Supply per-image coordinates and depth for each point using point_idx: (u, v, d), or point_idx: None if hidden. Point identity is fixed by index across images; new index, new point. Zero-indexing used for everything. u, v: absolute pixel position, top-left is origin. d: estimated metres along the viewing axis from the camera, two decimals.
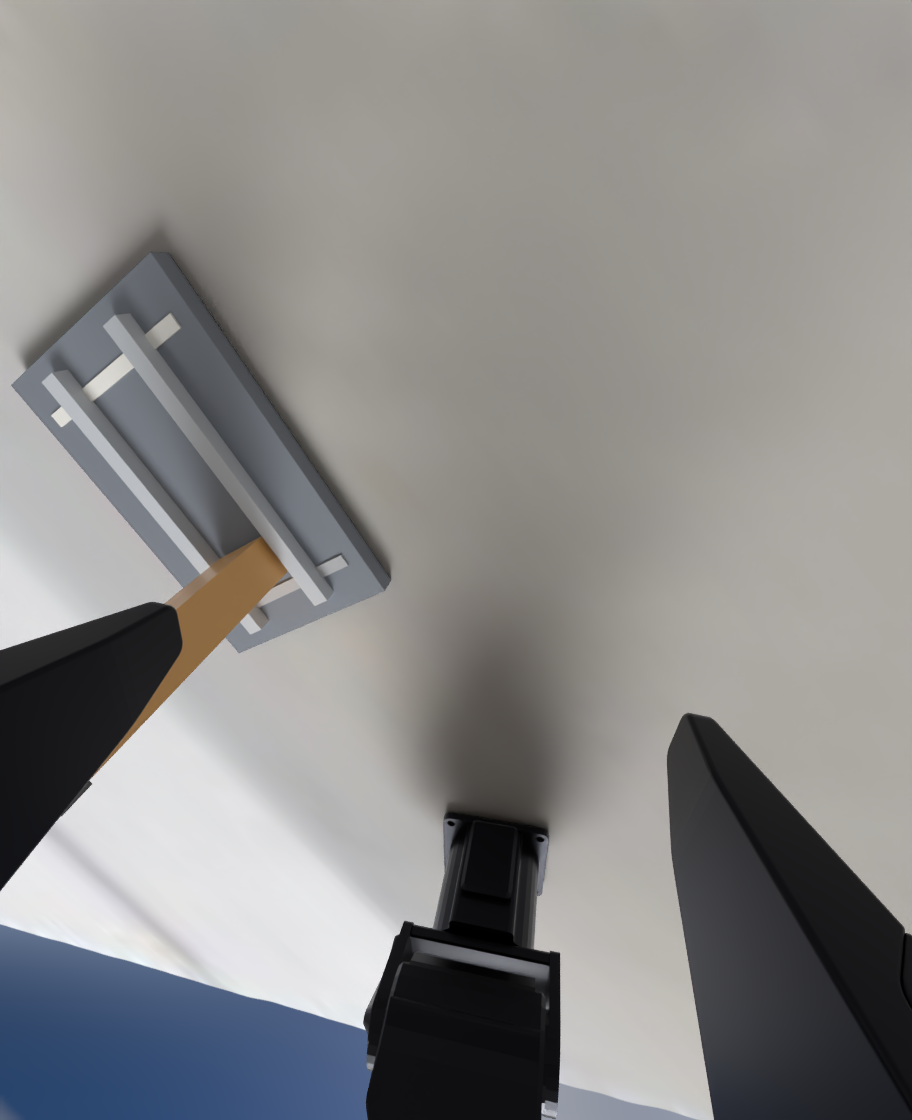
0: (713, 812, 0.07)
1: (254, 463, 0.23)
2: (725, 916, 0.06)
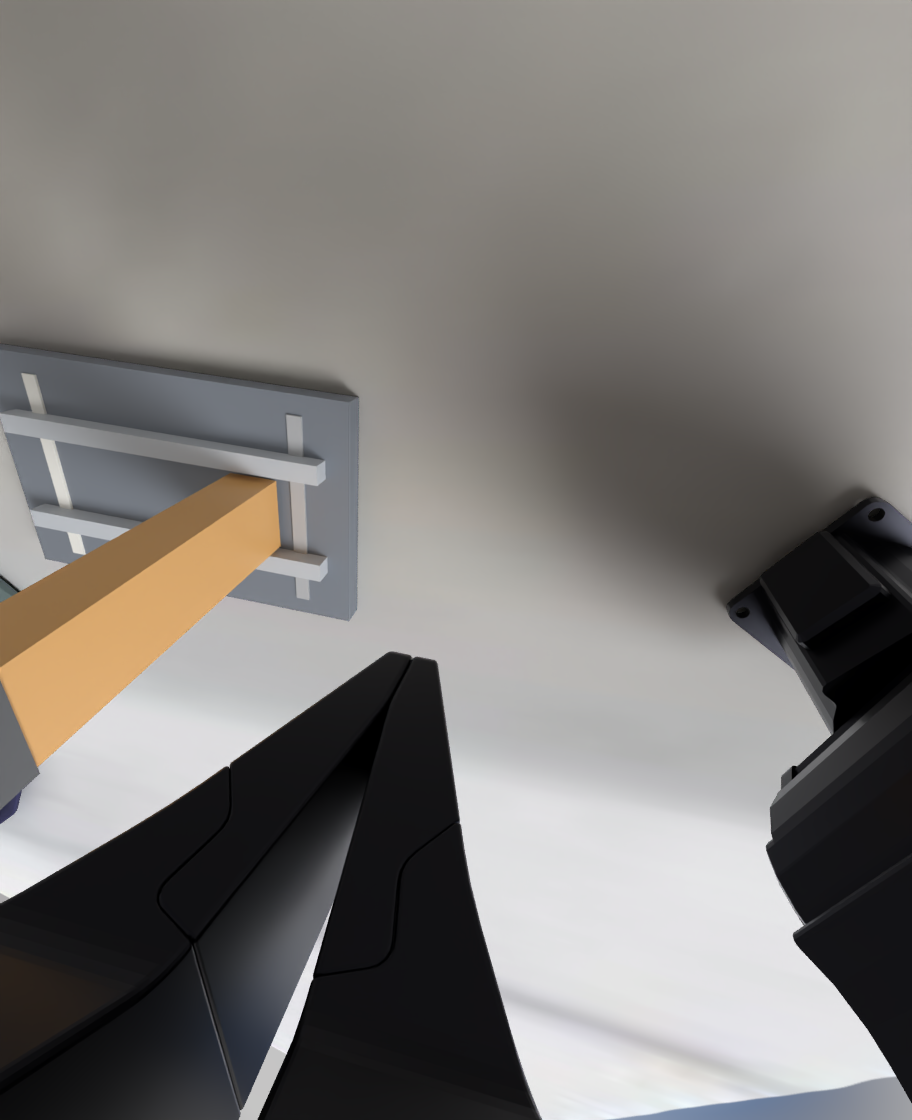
0: None
1: (165, 419, 0.21)
2: None
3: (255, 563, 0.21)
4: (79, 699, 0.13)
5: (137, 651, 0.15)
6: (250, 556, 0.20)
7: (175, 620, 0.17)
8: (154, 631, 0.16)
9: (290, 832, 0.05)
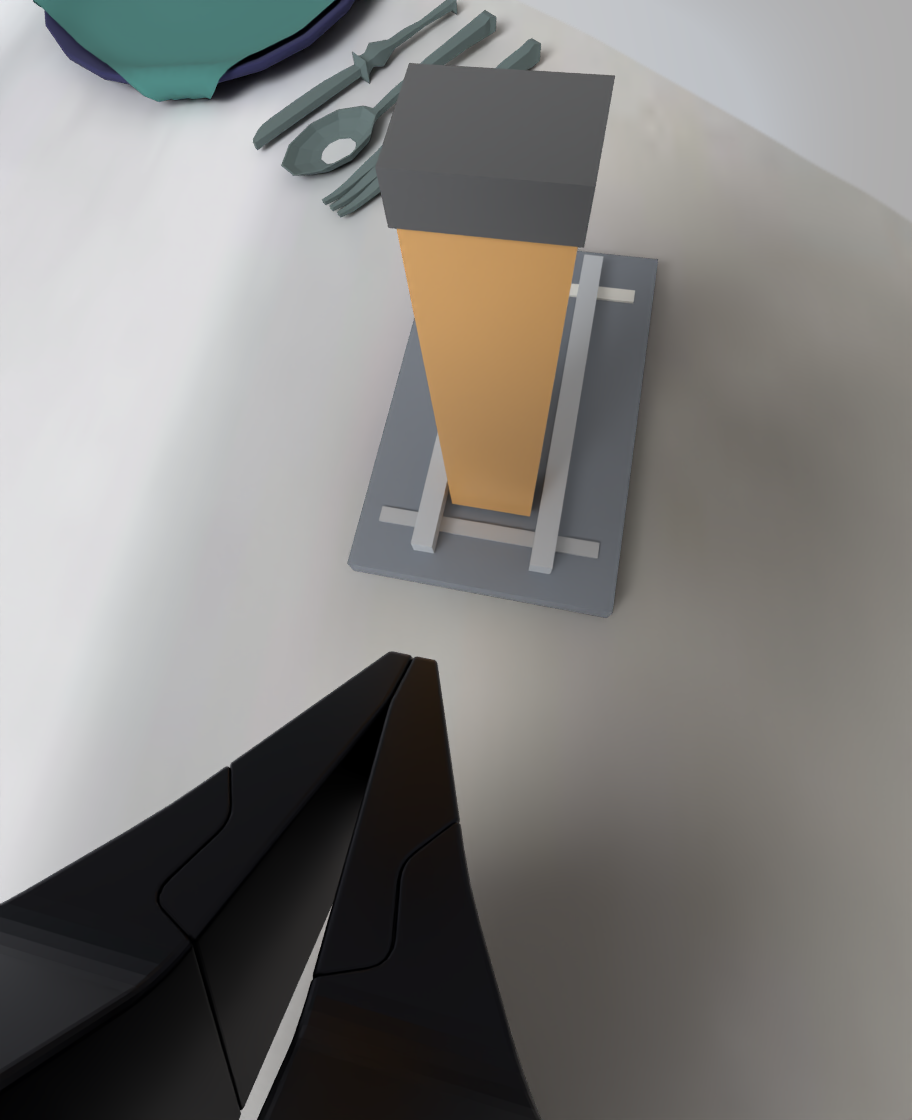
0: None
1: (592, 415, 0.21)
2: None
3: (454, 482, 0.18)
4: (450, 299, 0.10)
5: (455, 366, 0.12)
6: (467, 480, 0.18)
7: (459, 407, 0.14)
8: (465, 387, 0.13)
9: (290, 832, 0.05)
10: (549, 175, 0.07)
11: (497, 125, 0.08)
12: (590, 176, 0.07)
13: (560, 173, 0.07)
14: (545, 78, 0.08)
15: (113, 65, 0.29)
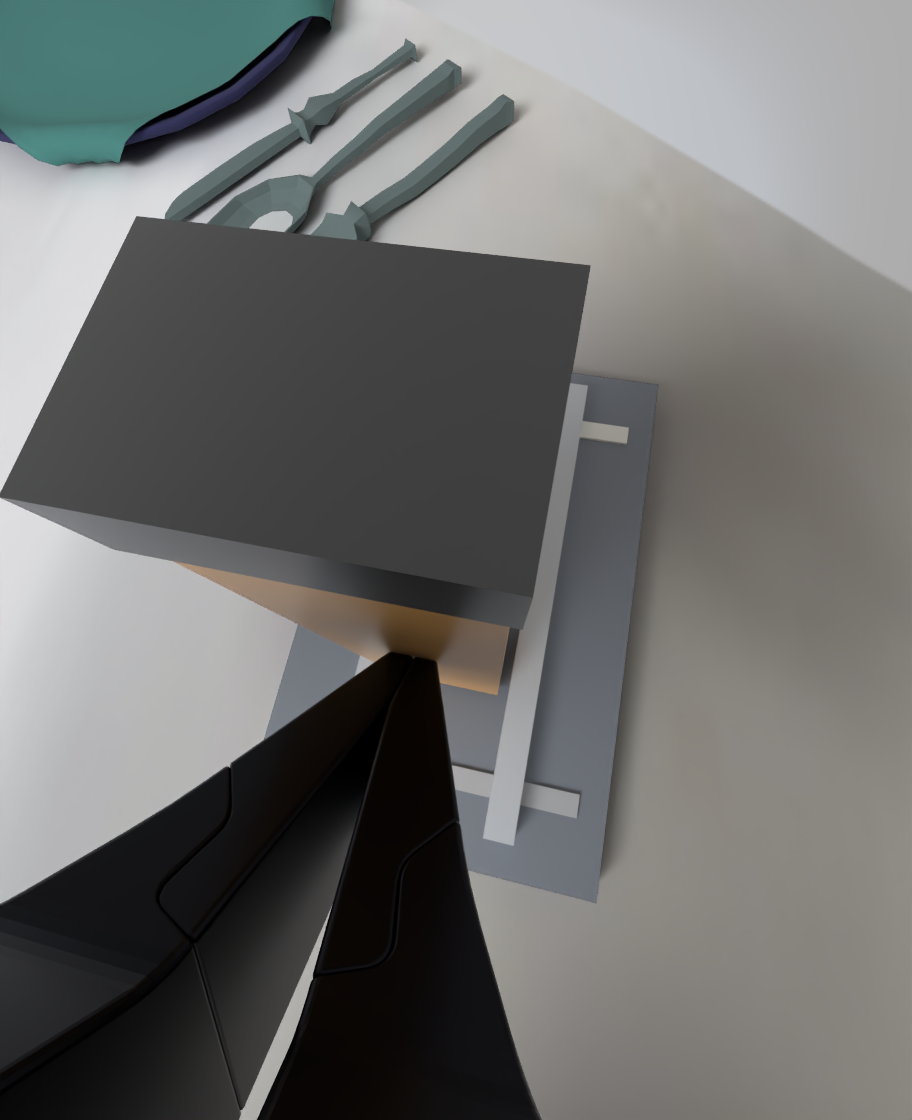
0: None
1: (571, 602, 0.16)
2: None
3: None
4: (295, 601, 0.05)
5: (345, 632, 0.07)
6: None
7: (369, 648, 0.09)
8: (369, 643, 0.08)
9: (290, 832, 0.05)
10: (417, 546, 0.03)
11: (304, 390, 0.03)
12: (521, 558, 0.03)
13: (445, 543, 0.03)
14: (428, 266, 0.03)
15: (1, 123, 0.24)
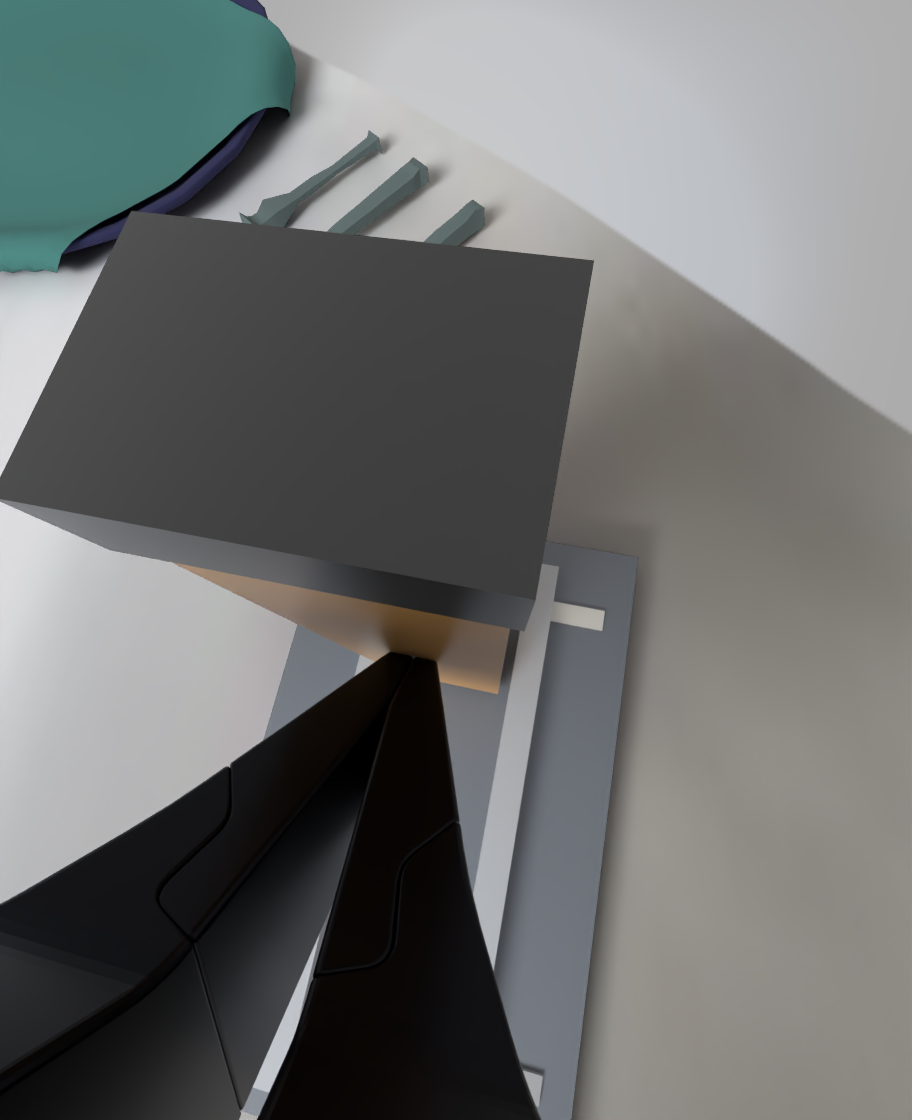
0: None
1: (538, 826, 0.14)
2: None
3: None
4: (295, 602, 0.05)
5: (345, 632, 0.07)
6: None
7: (369, 648, 0.09)
8: (368, 643, 0.08)
9: (290, 832, 0.05)
10: (418, 548, 0.03)
11: (302, 388, 0.03)
12: (524, 559, 0.03)
13: (446, 545, 0.03)
14: (429, 262, 0.03)
15: None
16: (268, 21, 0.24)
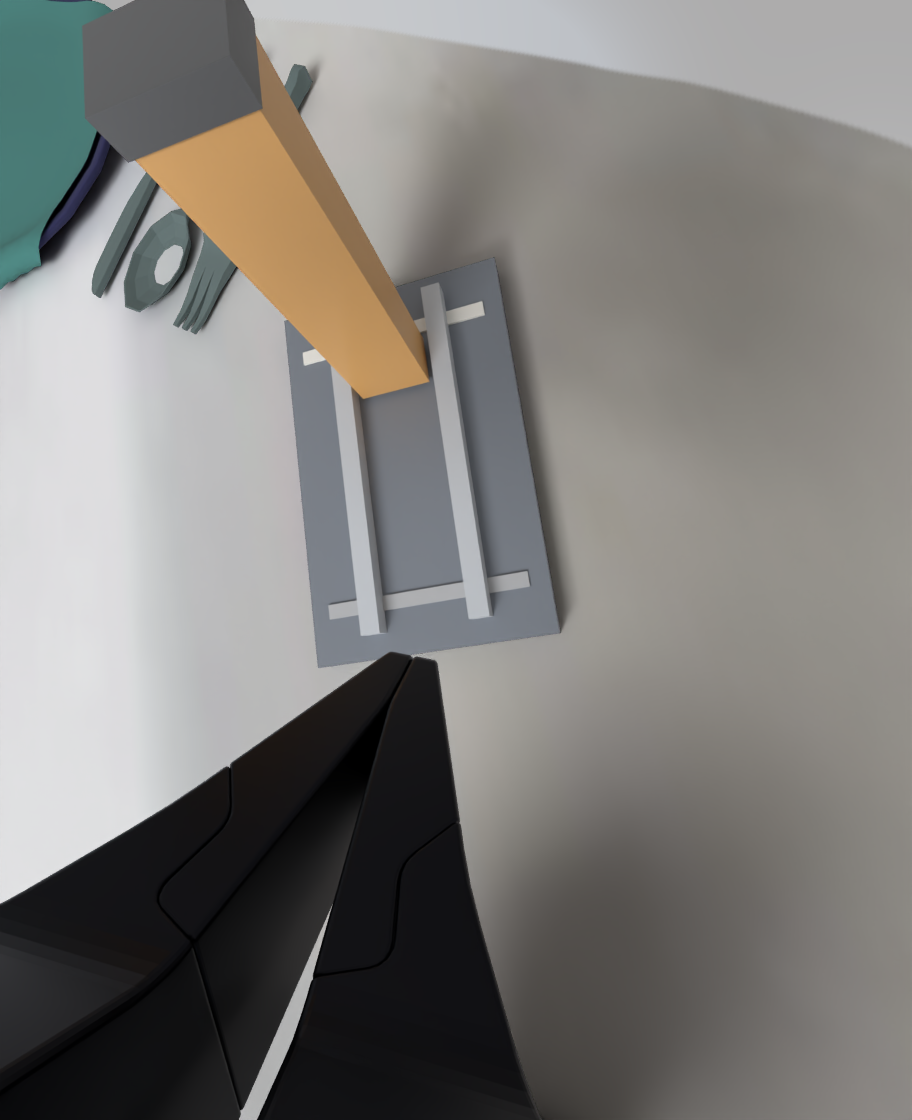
0: None
1: (482, 446, 0.21)
2: None
3: (348, 375, 0.21)
4: (213, 201, 0.12)
5: (263, 261, 0.14)
6: (355, 368, 0.20)
7: (294, 298, 0.16)
8: (284, 277, 0.15)
9: (290, 832, 0.05)
10: (198, 63, 0.10)
11: (153, 42, 0.10)
12: (225, 49, 0.10)
13: (205, 57, 0.10)
14: None
15: None
16: (94, 2, 0.29)
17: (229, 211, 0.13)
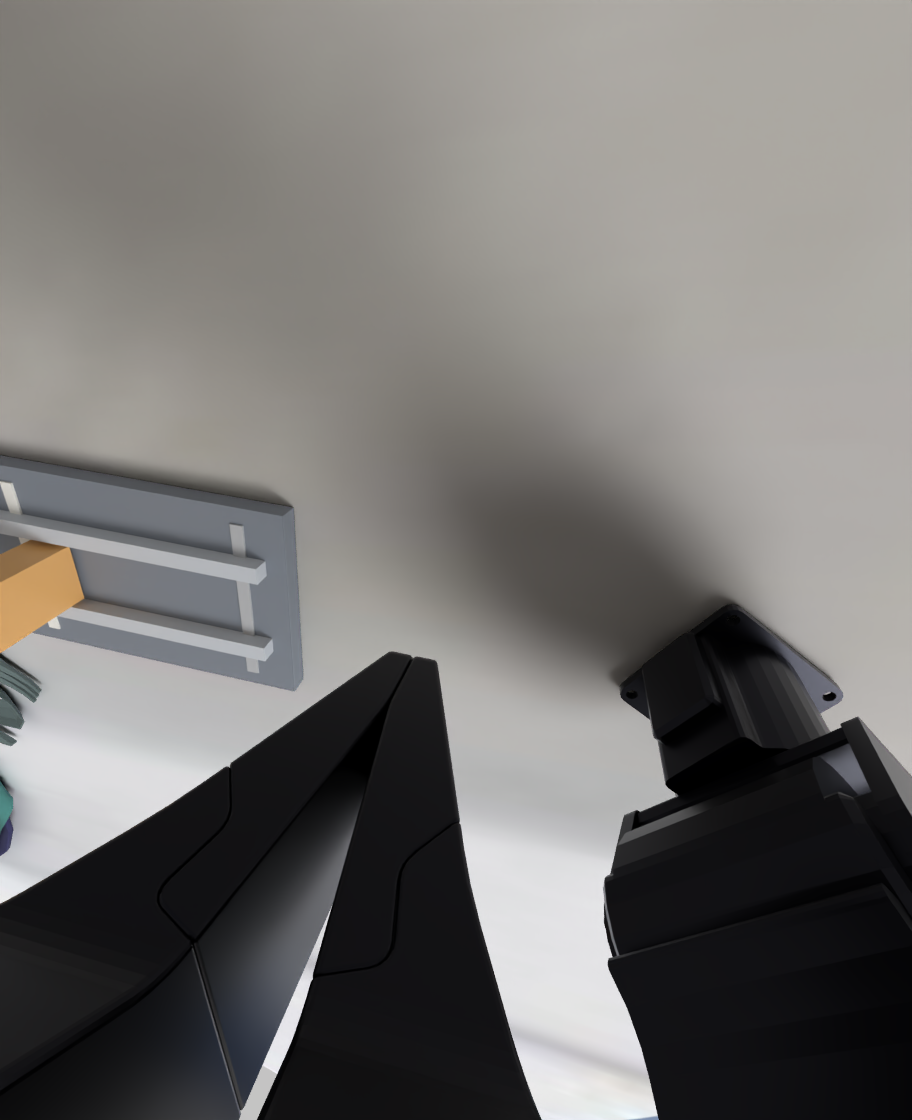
0: None
1: (126, 522, 0.24)
2: None
3: (48, 616, 0.25)
4: None
5: None
6: (40, 612, 0.24)
7: None
8: None
9: (290, 832, 0.05)
10: None
11: None
12: None
13: None
14: None
15: (0, 827, 0.40)
16: None
17: None
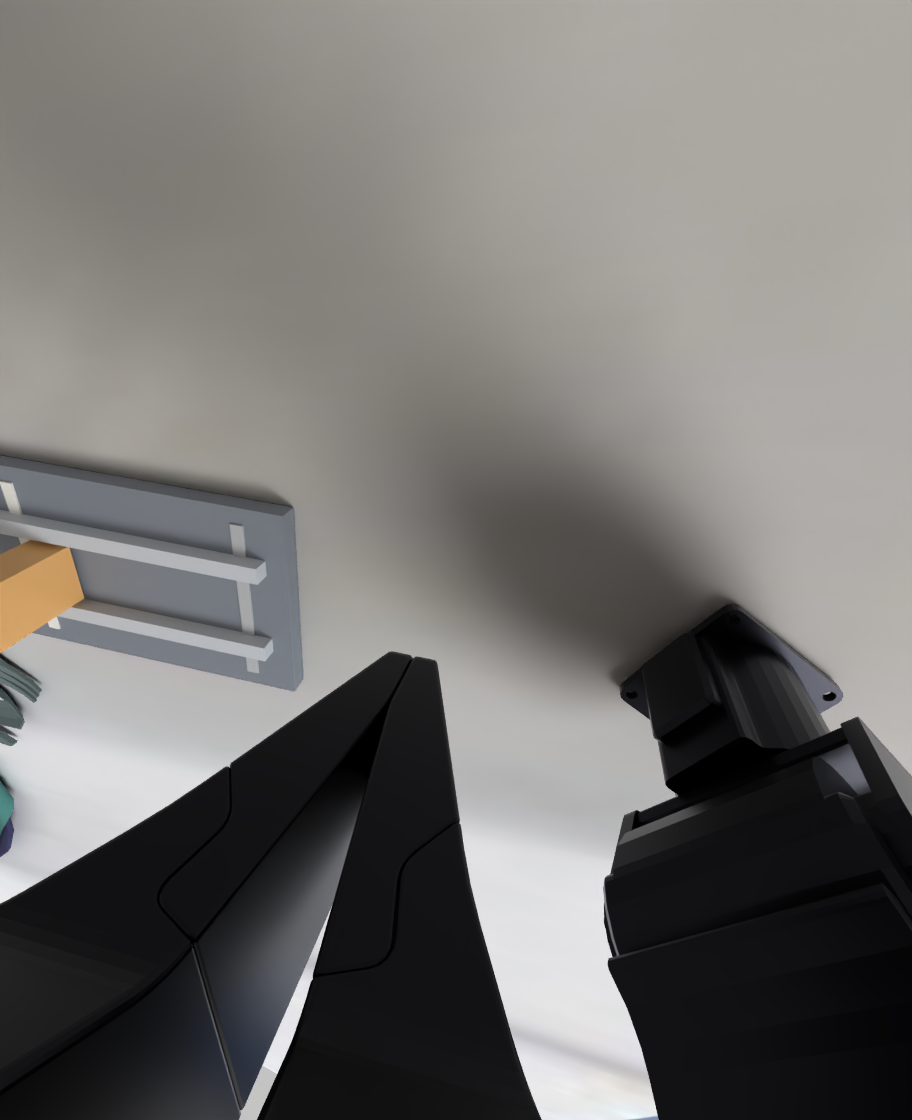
0: None
1: (126, 522, 0.24)
2: None
3: (48, 616, 0.25)
4: None
5: None
6: (39, 612, 0.24)
7: None
8: None
9: (290, 832, 0.05)
10: None
11: None
12: None
13: None
14: None
15: (0, 827, 0.40)
16: None
17: None
